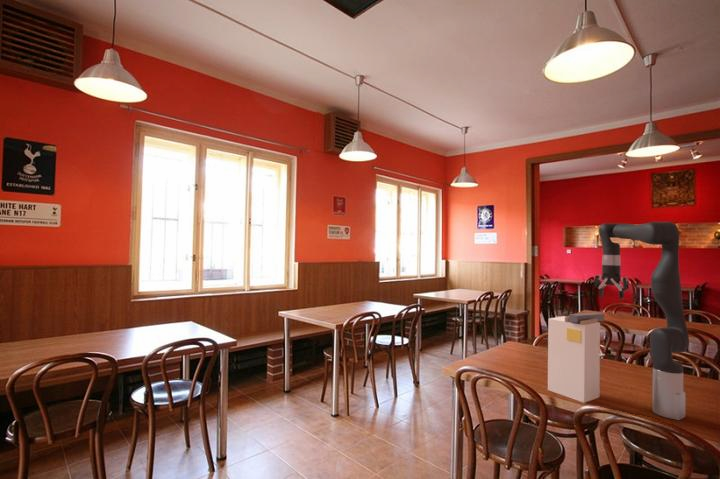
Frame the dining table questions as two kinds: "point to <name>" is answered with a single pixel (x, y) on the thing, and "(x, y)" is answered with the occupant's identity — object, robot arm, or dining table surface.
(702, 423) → the dining table surface
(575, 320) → the dark gray bar
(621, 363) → the dining table surface
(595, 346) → the cream carton
